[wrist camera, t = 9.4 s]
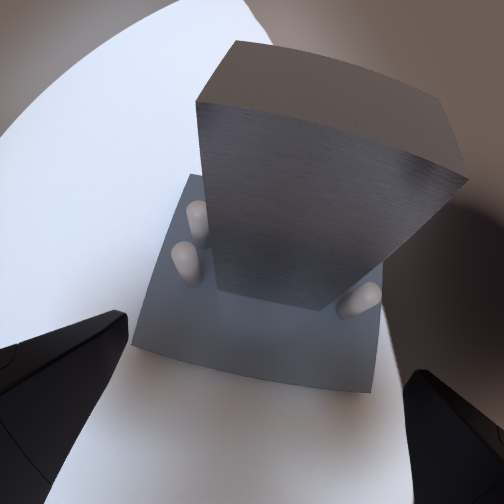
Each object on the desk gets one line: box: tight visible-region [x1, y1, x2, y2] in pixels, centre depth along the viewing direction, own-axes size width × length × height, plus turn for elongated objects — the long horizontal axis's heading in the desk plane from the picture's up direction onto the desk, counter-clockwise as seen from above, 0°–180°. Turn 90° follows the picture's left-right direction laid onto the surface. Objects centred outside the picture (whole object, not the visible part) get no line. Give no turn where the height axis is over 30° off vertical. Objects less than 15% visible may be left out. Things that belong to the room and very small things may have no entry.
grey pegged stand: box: [131, 174, 383, 393], centre depth 16 cm, size 12×14×5 cm
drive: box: [196, 40, 469, 312], centre depth 11 cm, size 3×6×12 cm, turn 78°
